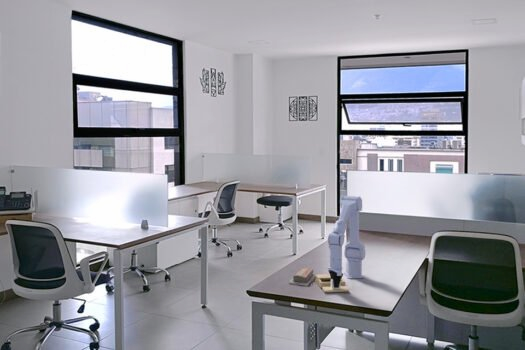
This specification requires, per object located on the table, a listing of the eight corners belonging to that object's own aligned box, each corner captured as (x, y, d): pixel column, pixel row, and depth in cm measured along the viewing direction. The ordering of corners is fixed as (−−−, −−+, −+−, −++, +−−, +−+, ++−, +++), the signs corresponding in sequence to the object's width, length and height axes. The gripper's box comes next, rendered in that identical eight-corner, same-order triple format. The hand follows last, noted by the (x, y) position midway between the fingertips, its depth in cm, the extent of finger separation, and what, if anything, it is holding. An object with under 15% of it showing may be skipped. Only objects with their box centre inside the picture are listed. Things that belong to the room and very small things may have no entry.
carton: (315, 281, 255) (315, 274, 255) (338, 280, 256) (338, 273, 256) (320, 288, 243) (320, 281, 243) (345, 287, 245) (345, 280, 244)
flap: (322, 288, 242) (322, 278, 241) (345, 287, 243) (345, 277, 242) (324, 292, 236) (324, 282, 236) (348, 291, 237) (349, 281, 237)
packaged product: (298, 266, 267) (316, 267, 264) (298, 275, 268) (316, 276, 264) (288, 275, 251) (307, 277, 247) (288, 284, 251) (307, 287, 248)
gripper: (323, 254, 245) (323, 282, 246) (331, 262, 230) (330, 291, 232) (338, 254, 245) (337, 281, 247) (346, 262, 231) (345, 291, 232)
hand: (335, 286), depth 239 cm, fingers closed on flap, 3 cm apart
